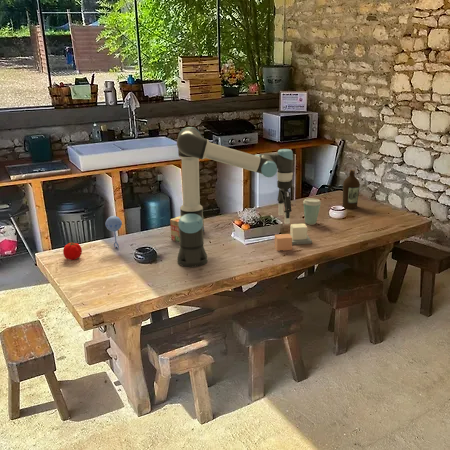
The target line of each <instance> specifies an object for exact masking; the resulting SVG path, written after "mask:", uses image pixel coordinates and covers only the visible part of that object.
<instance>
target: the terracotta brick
mask: <svg viewBox="0 0 450 450" xmlns="http://www.w3.org/2000/svg"><path fill="white" fill-rule="evenodd" d="M274 248H275V251H277V252H279V251H280V250H283V251H292V250H293V245H292V237H291V235H290V233H282V234H274Z"/></svg>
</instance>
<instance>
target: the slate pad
mask: <svg viewBox="0 0 450 450" xmlns="http://www.w3.org/2000/svg"><path fill="white" fill-rule="evenodd" d="M310 244H313V240H312V239H311V238H310V236H309V235H308V234H307V239H300V240H292V246H294V245H310Z"/></svg>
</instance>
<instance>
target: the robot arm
mask: <svg viewBox="0 0 450 450" xmlns="http://www.w3.org/2000/svg"><path fill="white" fill-rule="evenodd" d="M177 135H178V136H177V139H176V146H177V150H178V152H177V153H178V154H177V156H178V157H179V158H180V159H181V180H182V181H181V184H182V186H181V187H182V205H181V206H180V207H179V210H180V211H179V212H180V215H179V216H180V219H179V233H180V242H179V247H180V248H179V251H178V253H177V259H176V260H177V261H176V262H177V264H178V265H180V266H181V267H186V268H196V267H201V266H203V265H205V264H206V263H208V254H207V252H206V249H205V245H204V231H203V219H204V213H203V212H204V211H203V210H204V209H203V207H204V206H203V205H201V203H200V201H201V200H200V199H201V196H200V195H201V193H200V160H204V159H208V160H212V161H215V162H219V163H222V164H226V165H230V166H233V167H236V168H240V169H244V170H246V171H252V172H253V173H254V172H255V173H257V174H261V175H263V176H264V177H265V178H273V177H274V176H275V175H276V176H277V177H276V179H277V181H276V182H277V184H276V185H277V186H276V187H277V188H278V195H277V204H278V206H277V208H278V212H277V213H278V216H279V217H280V216H284V217H283V218H284V220H283V221H284V225H290V224H291V212H292V202H291V201H292V200H291V192H290V191H289V190H290V189H292V188H293V175H294V173H293V165H294V156H293V155H294V154H293V153H294V152H293V150H292V149H289V148H280V149H278V150H277V153H264V154H263V153H260V154H251V153H248V152H245V151H241V150H237V149H234V148H230V147H227V146H224V145H220V144H216V143H213V142H210V140H209V139H207V138H204V137H203V136H202V133H201V132H200V131H199V129H197V128H195V127H192V126H188V127H184V128H183V129H181V130H180V131H179V133H178V134H177Z"/></svg>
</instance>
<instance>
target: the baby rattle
mask: <svg viewBox="0 0 450 450" xmlns="http://www.w3.org/2000/svg"><path fill="white" fill-rule="evenodd" d="M104 223H105V227H106V229H107V230H108V231H110V232H113V233H114V243H113V246H114V248H115V247H117V248H116V249H119V248H120V245H119V244H118V242H117V236H116V232H118V231H119V230H120V229H121V228H122V225H123V221H122V220H121V218H120V217H119V216H117V215H111V216H108V218H107V219H106V221H105V222H104Z"/></svg>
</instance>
